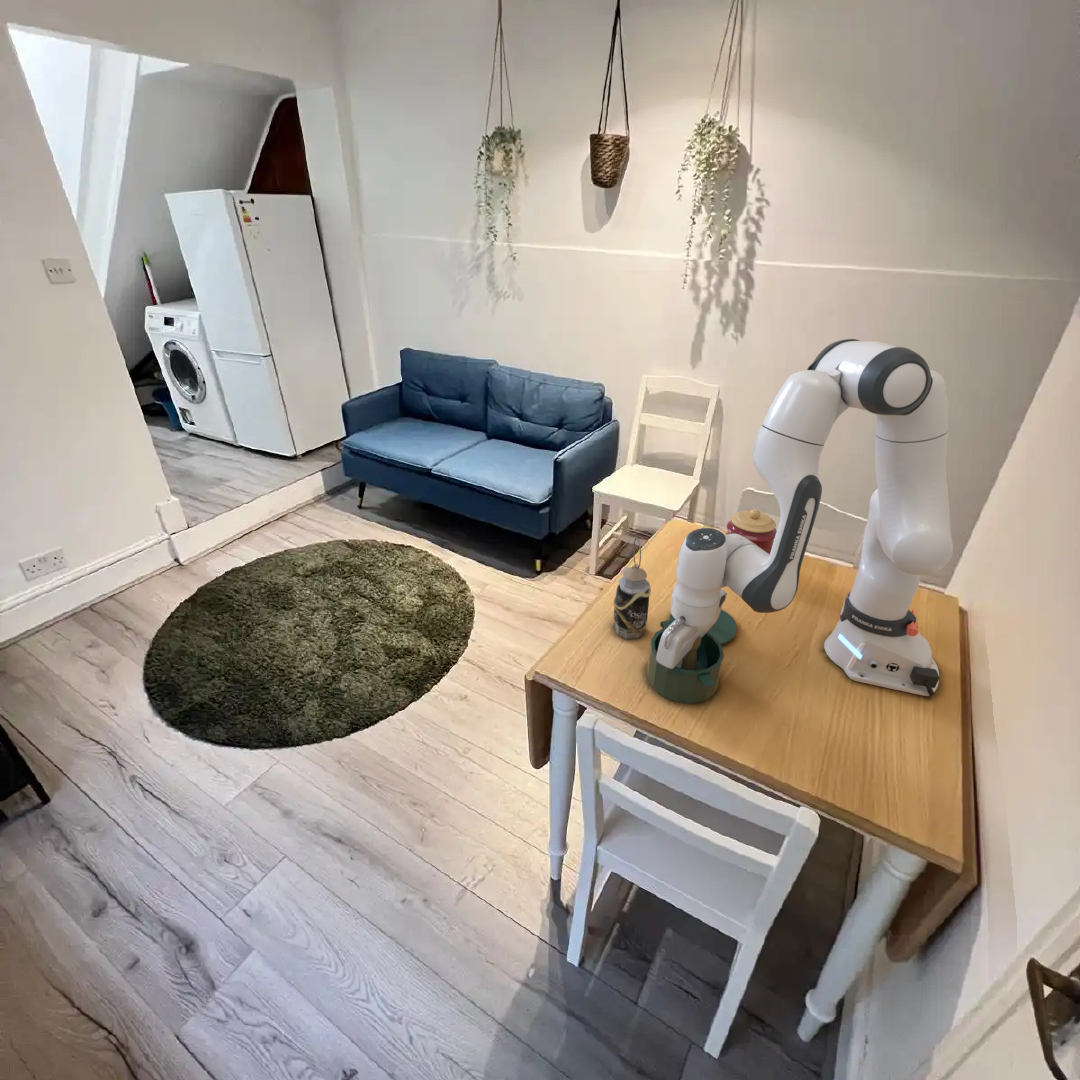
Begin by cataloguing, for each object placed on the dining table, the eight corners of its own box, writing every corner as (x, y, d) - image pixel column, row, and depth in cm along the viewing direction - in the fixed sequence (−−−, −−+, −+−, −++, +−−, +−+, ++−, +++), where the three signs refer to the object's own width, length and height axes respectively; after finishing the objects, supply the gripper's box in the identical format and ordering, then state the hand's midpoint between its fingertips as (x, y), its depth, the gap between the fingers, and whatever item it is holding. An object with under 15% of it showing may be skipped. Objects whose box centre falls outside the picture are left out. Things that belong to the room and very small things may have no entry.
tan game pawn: (697, 685, 119) (705, 645, 114) (667, 681, 120) (674, 641, 115) (695, 665, 125) (703, 625, 119) (667, 661, 125) (673, 622, 120)
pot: (690, 642, 133) (695, 612, 128) (737, 705, 116) (745, 674, 112) (631, 653, 130) (635, 623, 125) (671, 720, 113) (676, 688, 109)
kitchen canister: (737, 548, 168) (748, 494, 159) (777, 567, 160) (791, 511, 151) (710, 563, 161) (720, 508, 152) (750, 584, 152) (764, 526, 143)
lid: (715, 602, 146) (718, 587, 143) (749, 641, 133) (752, 626, 130) (658, 611, 143) (660, 596, 140) (687, 653, 130) (690, 637, 127)
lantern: (649, 641, 133) (661, 549, 120) (614, 642, 133) (622, 550, 120) (641, 617, 140) (651, 529, 128) (608, 619, 140) (615, 530, 127)
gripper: (682, 639, 105) (673, 694, 112) (731, 589, 118) (720, 641, 125) (652, 625, 108) (645, 678, 115) (702, 578, 122) (693, 628, 129)
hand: (684, 658), depth 120 cm, fingers closed on tan game pawn, 4 cm apart
